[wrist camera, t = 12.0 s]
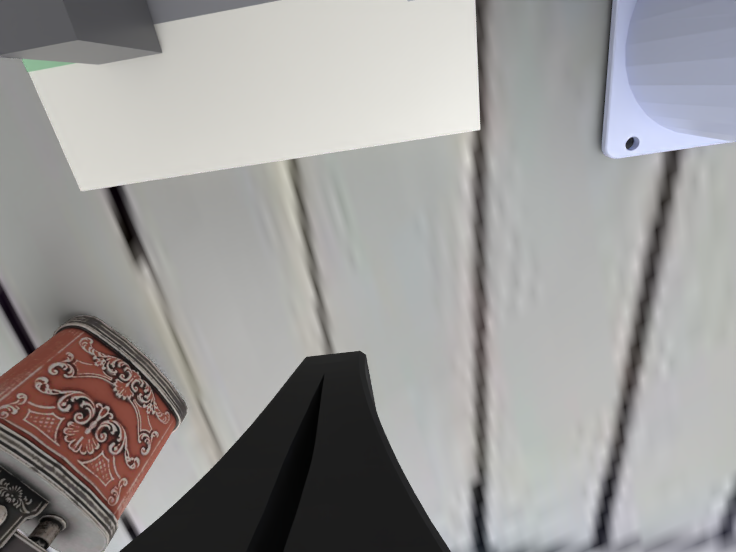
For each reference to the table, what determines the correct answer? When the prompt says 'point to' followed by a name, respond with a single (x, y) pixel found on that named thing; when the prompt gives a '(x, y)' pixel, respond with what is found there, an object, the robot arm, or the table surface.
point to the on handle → (77, 30)
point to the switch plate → (265, 86)
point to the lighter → (78, 437)
